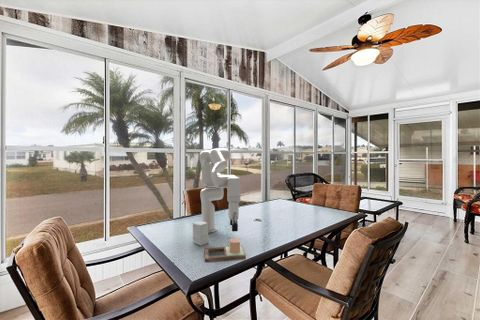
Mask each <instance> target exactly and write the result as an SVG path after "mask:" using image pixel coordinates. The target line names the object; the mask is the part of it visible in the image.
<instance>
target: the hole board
mask: <svg viewBox="0 0 480 320" xmlns="http://www.w3.org/2000/svg"><path fill="white" fill-rule="evenodd" d="M246 258H247V257H246V252H245V250H244V247H243V245H241V244H240V252H233V253H230V249H229V245H225V246H213V247H205V248H204V262H205V263H206V262H215V261H216V262H217V261H227V260H228V261H229V260H243V259H246Z"/></svg>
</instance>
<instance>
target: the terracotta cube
mask: <svg viewBox="0 0 480 320" xmlns="http://www.w3.org/2000/svg"><path fill="white" fill-rule="evenodd" d="M228 243H229V245H228V246H229V249H230V253H233V252H240V245H241V242H240V239H239V238H230V239H229V240H228Z"/></svg>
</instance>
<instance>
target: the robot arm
mask: <svg viewBox="0 0 480 320" xmlns="http://www.w3.org/2000/svg"><path fill="white" fill-rule="evenodd" d="M230 159H231V152H230V150H229V149H227V148H213V149H210V150H202V151H201V152H199V163H200V166H201V183H202V186H203V187H205V188H203V189H201V190H200V193H199V194H200V197H199V198H200V202H201V221H203V222H206V223H208V234H212V233H215V232H217V230H218V228H217V226H216V217H215V216H216V215H215V213H216V212H215V211H216V210H215V205H214V204H213V203H212V201H220V200H222V199H223V198H224V195H225V194H224V189H225V188H226V189H227V190H226V191H227V195H226V197H227V198H226V199H227V202H228V219H229V220H230V221H229V222H230V223H229V224H230V226H231V231H232V232H238V231H239V225H238V221H239V217H240V216H239V208H240V206H239V203H240V202H241V199H242V198H241V197H242V195H241V192H242V191H241V189H242V188H241V177H239V176H237V175H235V174H222V173H221V172H223V171H224V170H225V169H227V167H228V161H230Z"/></svg>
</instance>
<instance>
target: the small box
mask: <svg viewBox="0 0 480 320" xmlns="http://www.w3.org/2000/svg"><path fill="white" fill-rule="evenodd" d="M192 243H194V244H196V245H197V246H201V247H202V246H204V245H206V244H209V233H208V223H206V222H203V221H202V220H199V221H194V222H192Z"/></svg>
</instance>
